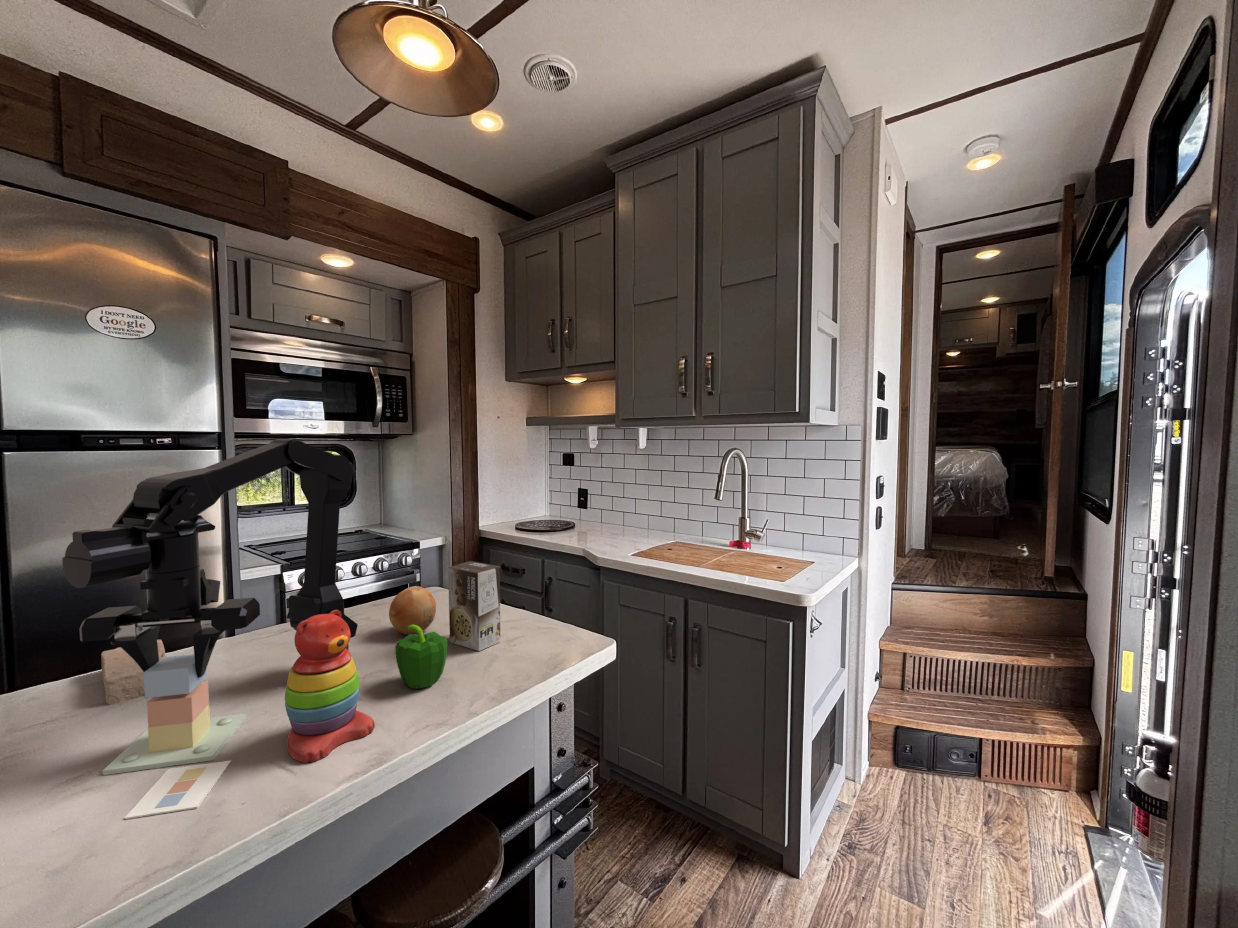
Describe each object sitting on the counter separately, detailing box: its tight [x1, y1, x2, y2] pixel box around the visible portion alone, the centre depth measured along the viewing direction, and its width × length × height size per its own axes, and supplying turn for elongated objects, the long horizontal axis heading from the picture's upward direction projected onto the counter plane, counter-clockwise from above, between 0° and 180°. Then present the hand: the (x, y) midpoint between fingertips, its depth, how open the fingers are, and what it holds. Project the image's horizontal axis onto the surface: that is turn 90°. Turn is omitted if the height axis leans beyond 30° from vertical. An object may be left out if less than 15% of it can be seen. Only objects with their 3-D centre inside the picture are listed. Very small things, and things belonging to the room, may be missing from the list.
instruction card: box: [124, 760, 232, 820], centre depth 65 cm, size 7×9×1 cm
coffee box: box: [447, 560, 501, 652], centre depth 111 cm, size 9×6×16 cm
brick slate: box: [144, 653, 208, 699], centre depth 74 cm, size 5×5×4 cm
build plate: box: [102, 704, 247, 776], centre depth 75 cm, size 12×11×4 cm
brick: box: [100, 639, 167, 705], centre depth 93 cm, size 17×8×5 cm, turn 46°
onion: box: [388, 585, 437, 635], centre depth 116 cm, size 10×10×10 cm
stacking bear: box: [284, 610, 376, 764], centre depth 76 cm, size 11×10×18 cm
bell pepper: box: [394, 624, 448, 689], centre depth 93 cm, size 8×8×10 cm
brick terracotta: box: [146, 680, 210, 729], centre depth 74 cm, size 5×5×4 cm
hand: (178, 678), depth 74 cm, fingers closed on brick slate, 5 cm apart
